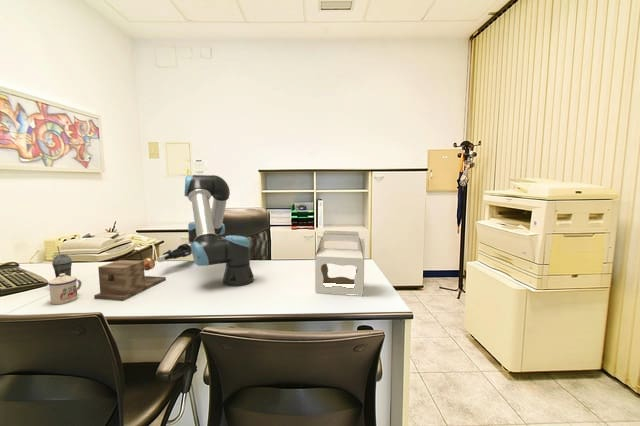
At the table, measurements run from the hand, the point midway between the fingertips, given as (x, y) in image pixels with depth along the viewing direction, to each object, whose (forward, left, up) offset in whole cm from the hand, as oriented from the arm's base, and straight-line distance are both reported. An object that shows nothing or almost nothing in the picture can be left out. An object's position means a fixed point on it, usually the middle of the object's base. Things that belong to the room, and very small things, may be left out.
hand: (159, 259), depth 157 cm
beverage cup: (+9, +40, -9) cm, 42 cm away
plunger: (-13, +13, -3) cm, 18 cm away
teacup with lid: (-12, +37, -9) cm, 40 cm away
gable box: (-71, -66, -9) cm, 97 cm away
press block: (-13, +13, -9) cm, 20 cm away
